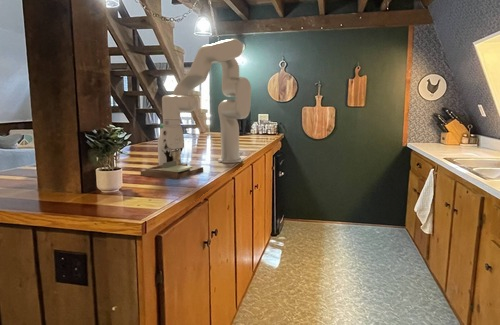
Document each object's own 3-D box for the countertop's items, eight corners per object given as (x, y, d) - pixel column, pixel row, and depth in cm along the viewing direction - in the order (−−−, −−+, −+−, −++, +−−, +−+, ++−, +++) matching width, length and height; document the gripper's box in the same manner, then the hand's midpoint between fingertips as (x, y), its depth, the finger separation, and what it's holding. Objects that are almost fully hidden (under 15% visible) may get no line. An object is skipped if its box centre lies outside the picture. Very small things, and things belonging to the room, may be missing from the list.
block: (173, 165, 165) (172, 150, 164) (181, 166, 163) (180, 150, 162) (166, 167, 161) (165, 151, 160) (174, 167, 159) (173, 152, 158)
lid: (176, 166, 156) (175, 160, 155) (192, 168, 151) (192, 161, 151) (161, 170, 148) (161, 163, 148) (178, 172, 144) (178, 165, 143)
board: (169, 168, 170) (168, 161, 169) (203, 171, 160) (203, 165, 160) (140, 174, 154) (140, 168, 154) (176, 179, 145) (176, 172, 144)
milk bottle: (165, 166, 173) (163, 125, 170) (155, 165, 178) (153, 124, 174) (177, 164, 179) (175, 124, 176) (167, 163, 184) (165, 123, 180)
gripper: (165, 124, 150) (167, 167, 153) (190, 122, 164) (192, 161, 168) (151, 124, 154) (154, 166, 157) (177, 122, 168) (179, 160, 171)
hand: (173, 163), depth 162 cm, fingers closed on block, 4 cm apart
